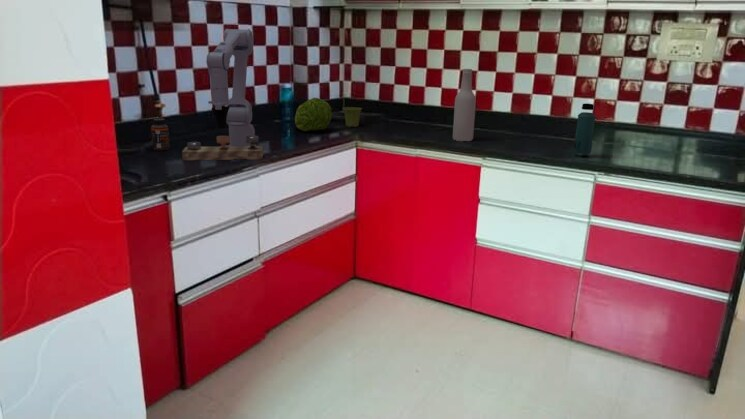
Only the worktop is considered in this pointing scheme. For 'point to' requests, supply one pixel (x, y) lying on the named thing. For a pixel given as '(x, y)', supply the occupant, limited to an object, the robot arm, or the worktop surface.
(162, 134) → the supplement bottle
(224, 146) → the pot knob
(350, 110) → the plant pot
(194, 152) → the knob bar
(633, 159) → the worktop surface
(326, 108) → the lettuce
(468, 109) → the alcohol
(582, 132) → the beverage bottle
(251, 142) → the knob
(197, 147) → the knob
